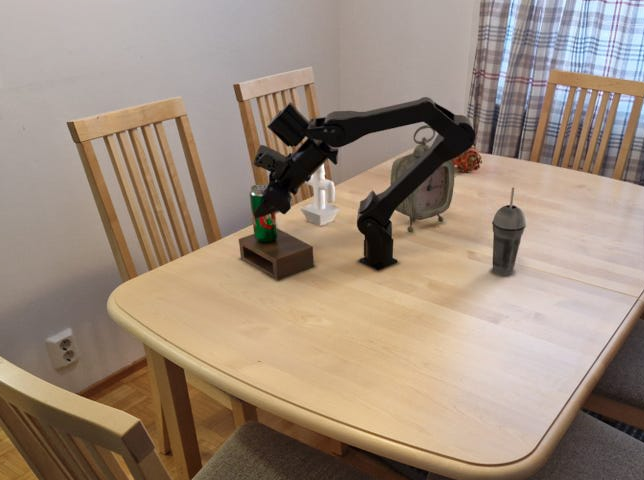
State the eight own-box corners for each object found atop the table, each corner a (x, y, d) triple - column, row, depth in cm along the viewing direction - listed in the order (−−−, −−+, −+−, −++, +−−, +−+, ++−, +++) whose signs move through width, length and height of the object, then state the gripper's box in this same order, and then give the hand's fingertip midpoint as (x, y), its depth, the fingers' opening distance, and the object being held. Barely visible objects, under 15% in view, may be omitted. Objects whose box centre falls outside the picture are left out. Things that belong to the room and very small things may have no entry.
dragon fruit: (478, 181, 200) (449, 176, 207) (492, 160, 201) (463, 156, 209) (467, 161, 193) (438, 158, 201) (482, 140, 195) (452, 137, 203)
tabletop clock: (409, 237, 160) (414, 134, 146) (386, 225, 165) (388, 125, 151) (450, 223, 168) (459, 124, 154) (427, 212, 174) (432, 116, 159)
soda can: (258, 234, 146) (252, 182, 140) (279, 235, 146) (275, 183, 139) (252, 243, 142) (246, 191, 135) (274, 244, 142) (269, 192, 135)
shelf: (313, 266, 145) (313, 246, 142) (277, 280, 139) (276, 259, 136) (276, 246, 153) (275, 227, 150) (240, 259, 147) (238, 238, 144)
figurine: (323, 230, 161) (321, 171, 153) (297, 220, 166) (293, 162, 158) (343, 222, 166) (342, 164, 158) (317, 212, 171) (314, 156, 162)
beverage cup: (521, 267, 148) (534, 183, 137) (515, 281, 143) (528, 194, 131) (490, 262, 150) (500, 178, 139) (483, 275, 144) (493, 189, 133)
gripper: (281, 121, 139) (235, 171, 145) (268, 147, 123) (218, 201, 129) (319, 158, 143) (274, 205, 149) (311, 188, 128) (261, 238, 134)
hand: (257, 211), depth 140 cm, fingers closed on soda can, 5 cm apart
